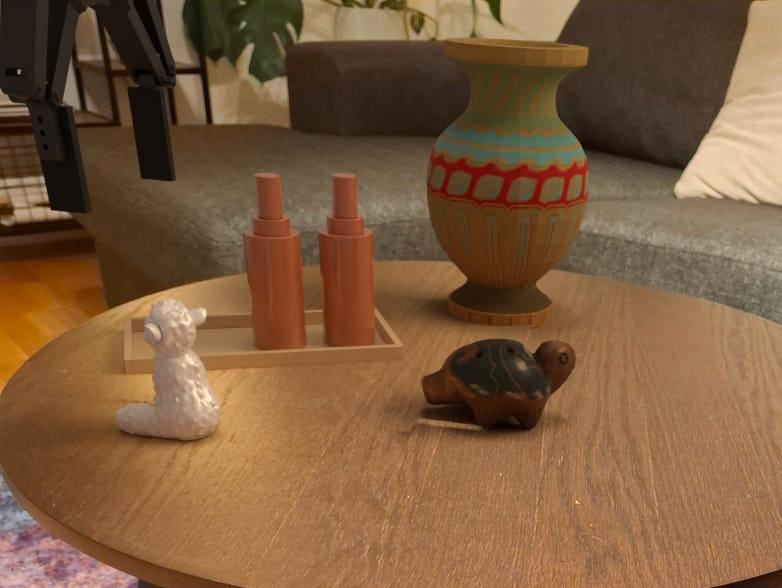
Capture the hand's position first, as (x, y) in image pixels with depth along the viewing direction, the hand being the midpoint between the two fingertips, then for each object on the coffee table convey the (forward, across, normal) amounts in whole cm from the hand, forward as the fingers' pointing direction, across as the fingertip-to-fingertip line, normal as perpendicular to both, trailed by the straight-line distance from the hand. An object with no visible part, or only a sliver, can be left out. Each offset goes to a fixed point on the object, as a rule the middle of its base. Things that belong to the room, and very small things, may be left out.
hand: (118, 194), depth 69 cm
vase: (+21, +50, -23) cm, 59 cm away
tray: (+21, +27, +1) cm, 34 cm away
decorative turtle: (+21, +15, -28) cm, 38 cm away
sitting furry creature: (+21, +4, 0) cm, 21 cm away
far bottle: (+20, +32, -8) cm, 38 cm away
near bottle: (+20, +28, -1) cm, 35 cm away
